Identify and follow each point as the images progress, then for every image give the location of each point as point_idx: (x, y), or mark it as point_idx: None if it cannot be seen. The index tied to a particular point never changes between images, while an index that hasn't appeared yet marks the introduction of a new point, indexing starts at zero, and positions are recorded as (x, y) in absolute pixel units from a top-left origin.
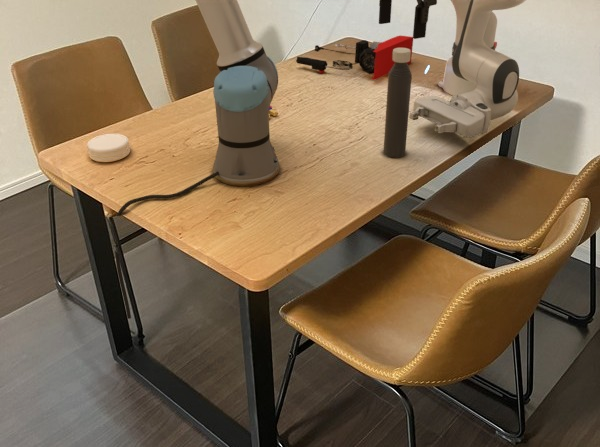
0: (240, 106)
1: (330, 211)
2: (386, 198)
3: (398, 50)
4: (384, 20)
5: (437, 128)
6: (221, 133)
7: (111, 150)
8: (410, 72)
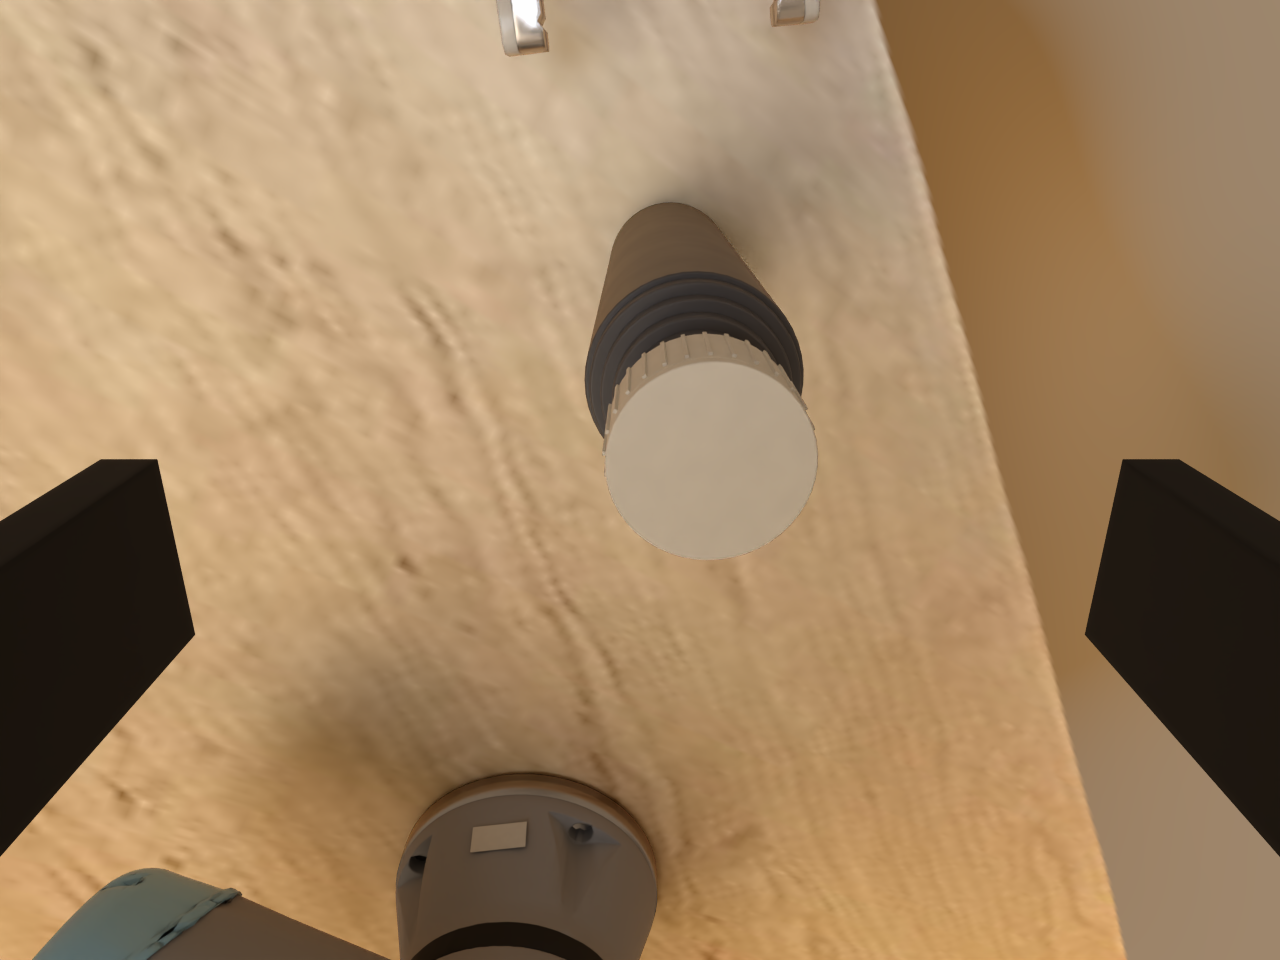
0: None
1: (964, 752)
2: (1016, 540)
3: (701, 506)
4: (154, 593)
5: (800, 22)
6: None
7: None
8: (750, 305)
